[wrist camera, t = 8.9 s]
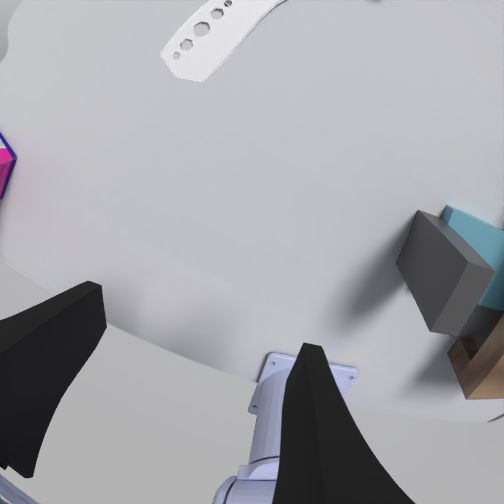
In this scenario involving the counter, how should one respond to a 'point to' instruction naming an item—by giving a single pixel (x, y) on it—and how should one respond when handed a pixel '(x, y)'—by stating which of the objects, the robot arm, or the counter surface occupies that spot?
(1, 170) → the supplement box
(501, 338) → the low wooden stool
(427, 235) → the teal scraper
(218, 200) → the counter surface
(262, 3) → the knife
